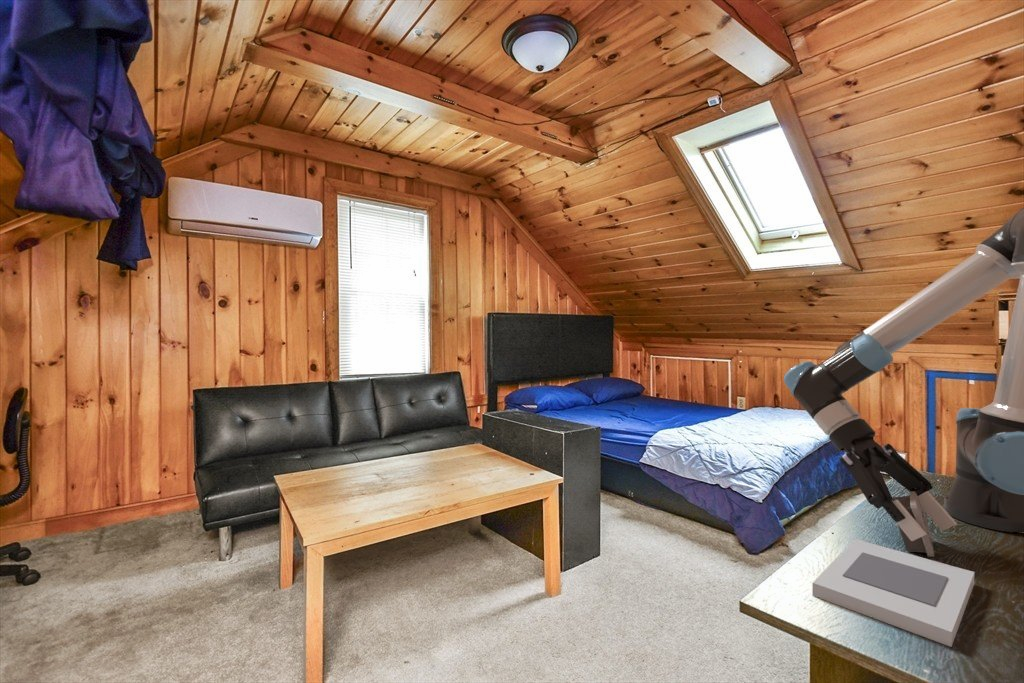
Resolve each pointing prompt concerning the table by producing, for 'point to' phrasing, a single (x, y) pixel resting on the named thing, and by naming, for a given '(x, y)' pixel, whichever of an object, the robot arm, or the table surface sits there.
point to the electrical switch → (916, 512)
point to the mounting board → (898, 589)
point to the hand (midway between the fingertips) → (934, 532)
